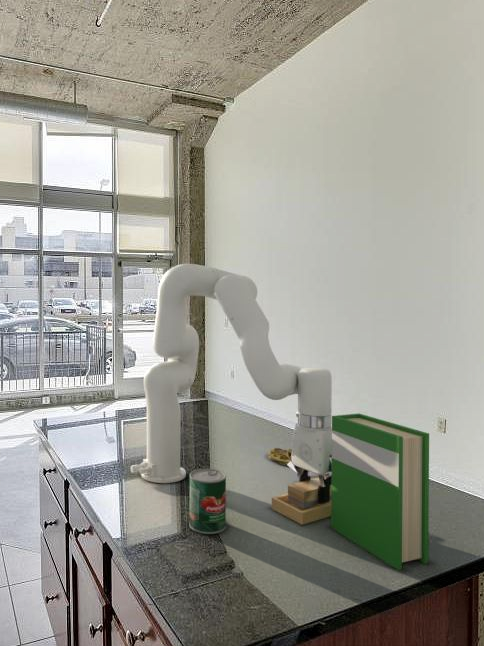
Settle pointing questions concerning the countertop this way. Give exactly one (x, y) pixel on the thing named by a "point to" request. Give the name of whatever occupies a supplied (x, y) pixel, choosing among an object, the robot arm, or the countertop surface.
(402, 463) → the hardback book
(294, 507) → the holder
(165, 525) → the countertop surface
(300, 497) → the eraser
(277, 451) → the yellow-brown textured oval
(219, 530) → the canned tomato
